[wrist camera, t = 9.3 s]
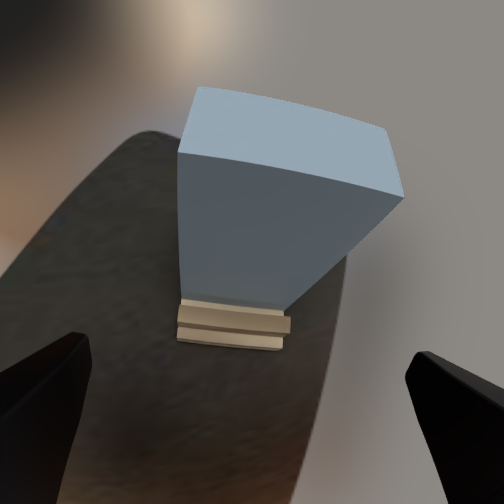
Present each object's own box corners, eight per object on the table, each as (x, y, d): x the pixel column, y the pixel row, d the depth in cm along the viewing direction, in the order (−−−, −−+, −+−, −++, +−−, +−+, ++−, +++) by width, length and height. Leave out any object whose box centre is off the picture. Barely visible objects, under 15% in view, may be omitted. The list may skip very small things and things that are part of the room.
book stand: (277, 350, 20) (380, 297, 9) (177, 340, 19) (162, 272, 8) (280, 230, 24) (349, 108, 13) (194, 218, 23) (209, 78, 12)
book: (283, 310, 20) (404, 197, 8) (181, 298, 19) (177, 151, 7) (284, 268, 21) (385, 129, 10) (188, 254, 20) (198, 85, 9)
